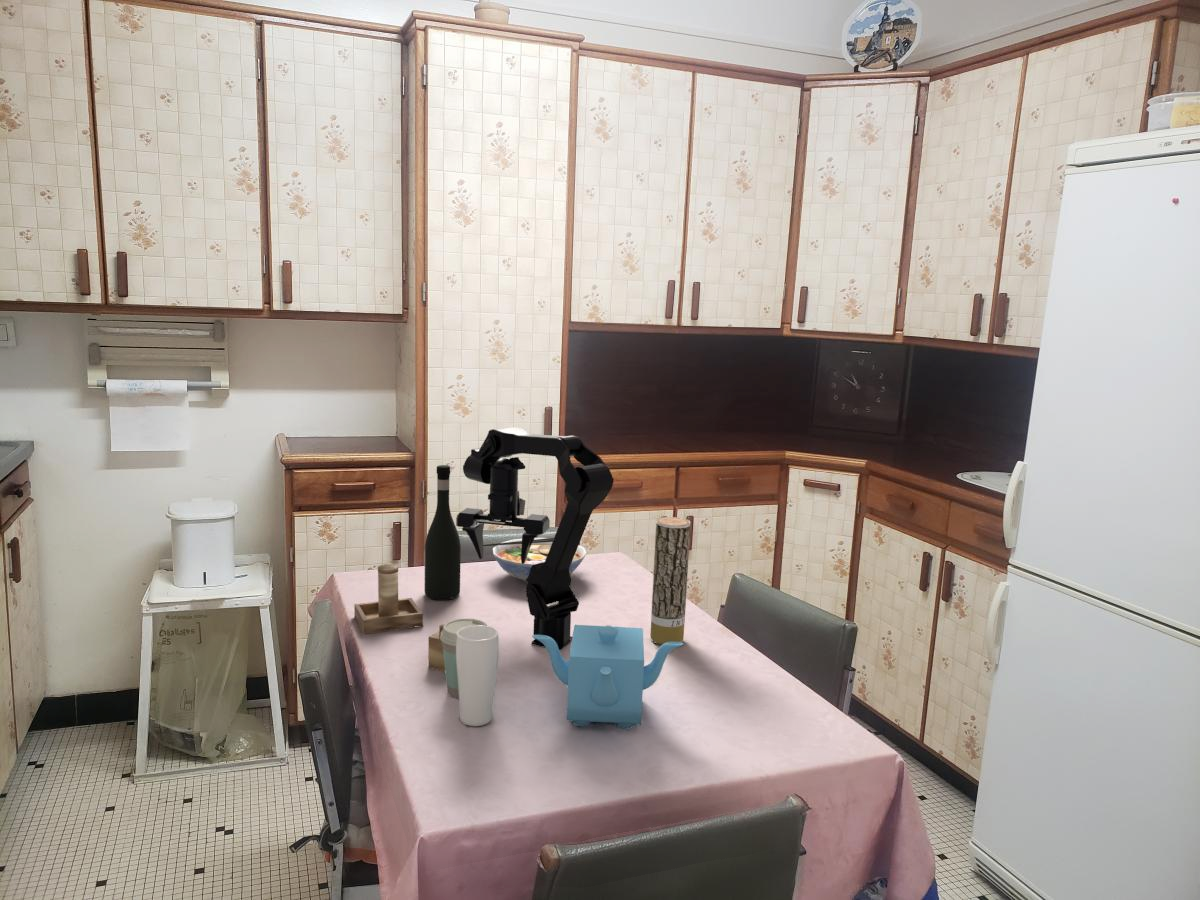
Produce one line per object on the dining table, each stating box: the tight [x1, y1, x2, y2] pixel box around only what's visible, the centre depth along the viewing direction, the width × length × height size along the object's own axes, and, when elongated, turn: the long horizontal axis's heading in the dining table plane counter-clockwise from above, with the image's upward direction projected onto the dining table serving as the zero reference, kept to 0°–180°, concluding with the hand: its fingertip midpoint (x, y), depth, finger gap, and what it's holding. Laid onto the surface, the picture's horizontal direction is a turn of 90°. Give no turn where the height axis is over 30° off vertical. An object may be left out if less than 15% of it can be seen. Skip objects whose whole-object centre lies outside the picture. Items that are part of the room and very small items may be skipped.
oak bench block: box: [427, 623, 446, 672], centre depth 161 cm, size 3×10×8 cm, turn 68°
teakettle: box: [532, 624, 685, 729], centre depth 146 cm, size 19×19×15 cm
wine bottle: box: [423, 464, 462, 601], centre depth 199 cm, size 8×8×30 cm
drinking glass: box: [456, 625, 500, 727], centre depth 142 cm, size 7×7×15 cm
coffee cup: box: [440, 618, 488, 700], centre depth 152 cm, size 8×9×12 cm
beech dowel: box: [377, 563, 399, 617], centre depth 183 cm, size 4×4×11 cm
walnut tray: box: [353, 597, 424, 635], centre depth 184 cm, size 12×10×3 cm
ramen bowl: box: [483, 537, 588, 582], centre depth 214 cm, size 25×23×8 cm
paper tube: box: [649, 516, 691, 646], centre depth 178 cm, size 7×7×25 cm
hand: (502, 560), depth 185 cm, fingers open, 9 cm apart
